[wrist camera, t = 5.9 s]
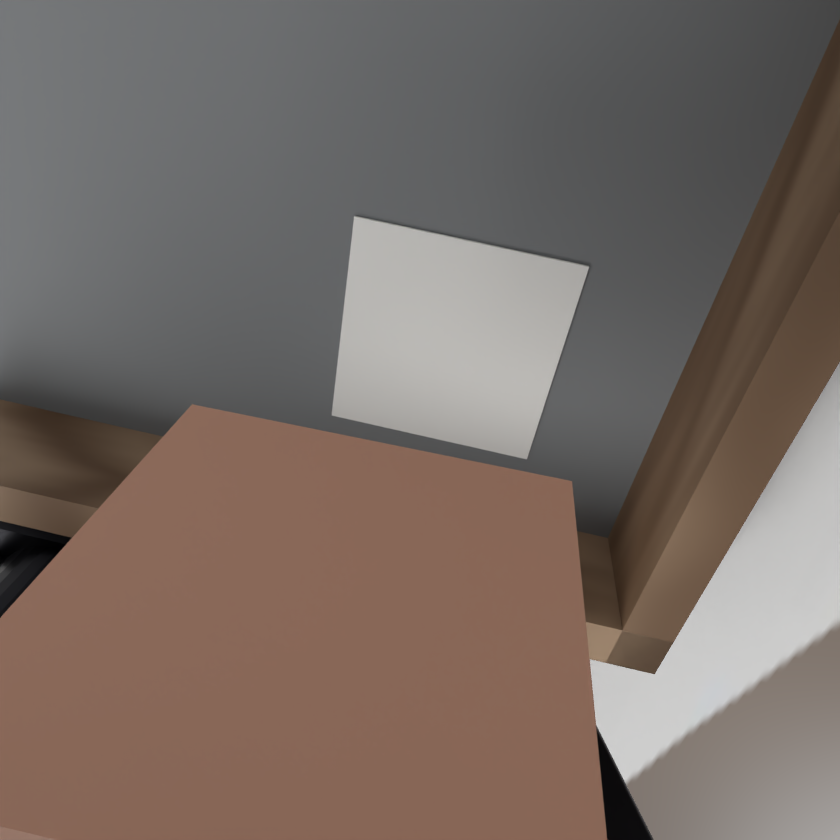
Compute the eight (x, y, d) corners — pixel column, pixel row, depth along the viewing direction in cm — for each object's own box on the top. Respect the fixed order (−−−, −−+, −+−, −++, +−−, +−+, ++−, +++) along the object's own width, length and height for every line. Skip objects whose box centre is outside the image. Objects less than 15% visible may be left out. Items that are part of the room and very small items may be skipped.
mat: (-3, 425, 24) (-11, 431, 23) (-184, -382, 13) (-204, -394, 13) (634, 572, 23) (636, 580, 23) (996, -157, 12) (1009, -163, 12)
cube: (206, 650, 12) (5, 1036, 7) (192, 403, 9) (-154, 789, 5) (492, 713, 12) (469, 1155, 7) (572, 480, 9) (621, 972, 4)
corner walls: (-9, 430, 23) (-99, 497, 20) (-199, -390, 13) (-461, -542, 9) (635, 578, 23) (654, 674, 19) (1006, -162, 12) (1194, -237, 9)
